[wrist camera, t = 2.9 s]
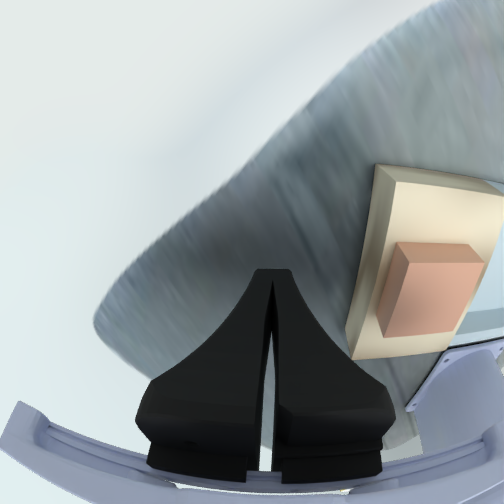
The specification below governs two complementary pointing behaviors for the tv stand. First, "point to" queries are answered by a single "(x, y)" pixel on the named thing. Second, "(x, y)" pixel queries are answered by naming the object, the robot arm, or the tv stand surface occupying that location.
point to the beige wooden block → (421, 231)
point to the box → (486, 298)
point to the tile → (427, 288)
